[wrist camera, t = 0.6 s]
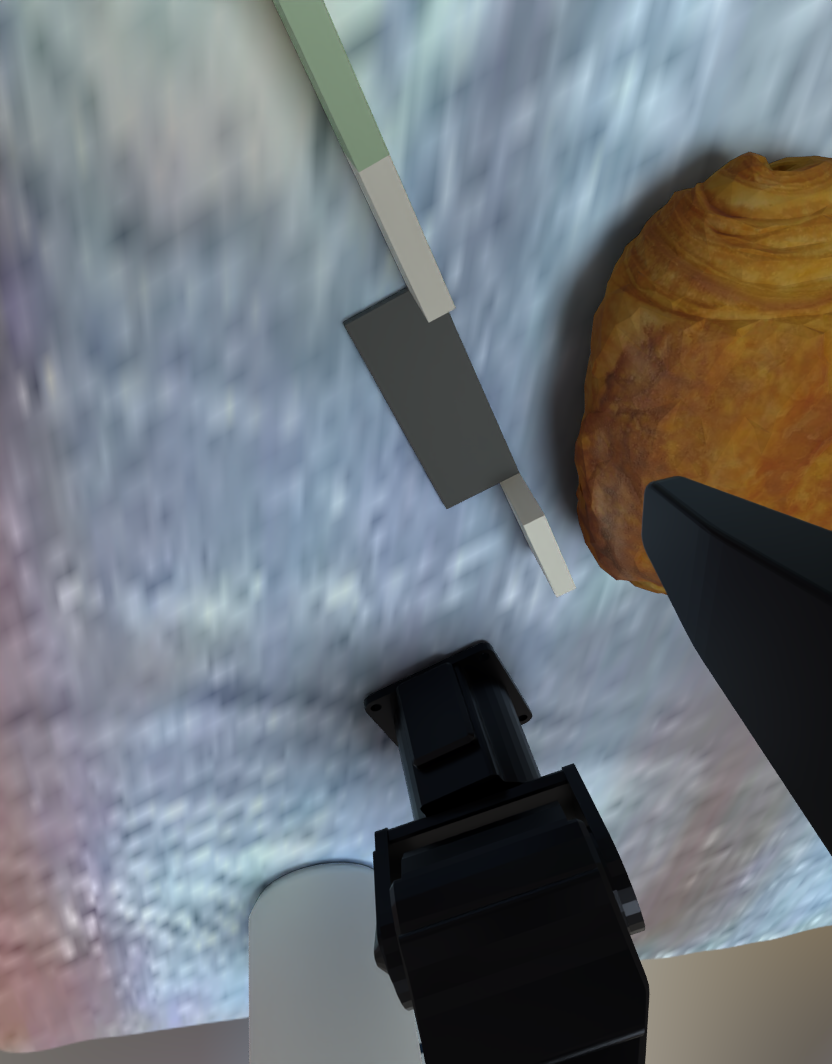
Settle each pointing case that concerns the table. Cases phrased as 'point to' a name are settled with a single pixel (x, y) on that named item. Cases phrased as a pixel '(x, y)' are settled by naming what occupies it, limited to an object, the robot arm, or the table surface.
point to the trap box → (416, 312)
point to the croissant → (714, 357)
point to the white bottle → (323, 974)
